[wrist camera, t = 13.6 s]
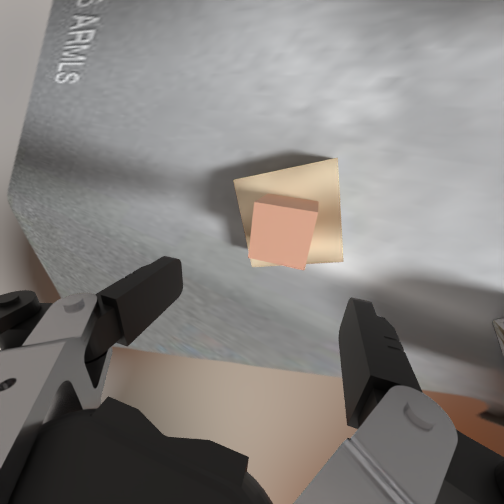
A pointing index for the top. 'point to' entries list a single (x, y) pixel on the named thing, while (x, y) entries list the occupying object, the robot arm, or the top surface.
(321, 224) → the birch block
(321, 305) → the top surface
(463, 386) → the top surface
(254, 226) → the terracotta cube
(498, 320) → the coffee box
